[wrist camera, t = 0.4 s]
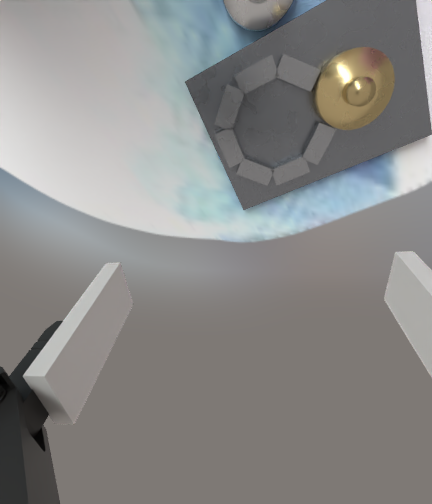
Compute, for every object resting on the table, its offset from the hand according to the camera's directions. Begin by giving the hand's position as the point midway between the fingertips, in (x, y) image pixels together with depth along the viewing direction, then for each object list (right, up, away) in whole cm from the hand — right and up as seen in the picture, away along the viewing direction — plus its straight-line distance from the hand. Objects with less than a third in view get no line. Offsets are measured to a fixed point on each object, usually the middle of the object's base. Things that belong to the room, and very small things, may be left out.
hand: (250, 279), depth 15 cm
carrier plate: (+8, +18, +18) cm, 27 cm away
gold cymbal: (+12, +18, +16) cm, 27 cm away
